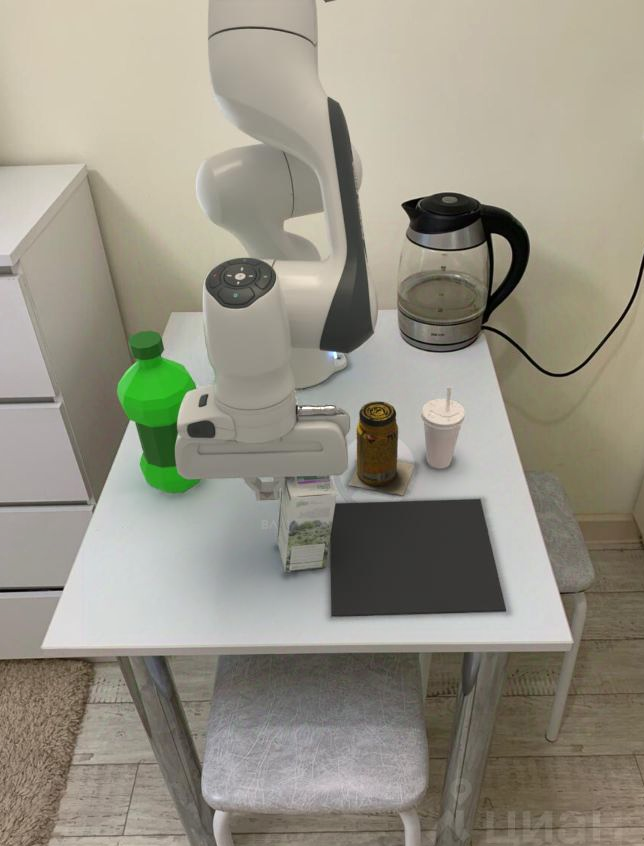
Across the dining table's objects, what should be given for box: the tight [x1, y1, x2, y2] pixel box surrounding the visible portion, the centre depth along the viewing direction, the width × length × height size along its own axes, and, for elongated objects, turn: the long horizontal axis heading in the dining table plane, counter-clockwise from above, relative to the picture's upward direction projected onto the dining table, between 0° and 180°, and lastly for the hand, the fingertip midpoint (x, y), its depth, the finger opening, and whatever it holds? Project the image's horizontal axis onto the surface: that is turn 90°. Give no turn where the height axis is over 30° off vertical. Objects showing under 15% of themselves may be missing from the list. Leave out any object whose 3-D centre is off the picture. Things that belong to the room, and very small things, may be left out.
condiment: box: [348, 400, 416, 496], centre depth 106 cm, size 7×8×12 cm
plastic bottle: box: [116, 330, 202, 495], centre depth 102 cm, size 10×10×25 cm
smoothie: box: [420, 385, 466, 470], centre depth 108 cm, size 6×6×14 cm
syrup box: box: [276, 476, 338, 573], centre depth 93 cm, size 6×6×14 cm
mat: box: [329, 498, 507, 618], centre depth 98 cm, size 20×22×1 cm
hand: (268, 497), depth 90 cm, fingers closed
